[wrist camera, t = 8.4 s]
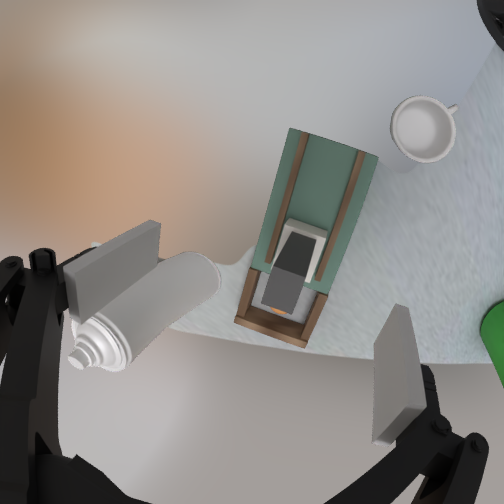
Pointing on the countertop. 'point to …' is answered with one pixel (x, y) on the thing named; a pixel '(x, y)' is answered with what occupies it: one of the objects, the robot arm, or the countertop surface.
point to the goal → (272, 322)
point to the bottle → (495, 337)
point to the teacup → (423, 128)
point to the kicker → (293, 264)
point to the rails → (287, 199)
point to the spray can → (144, 312)
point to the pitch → (317, 198)
